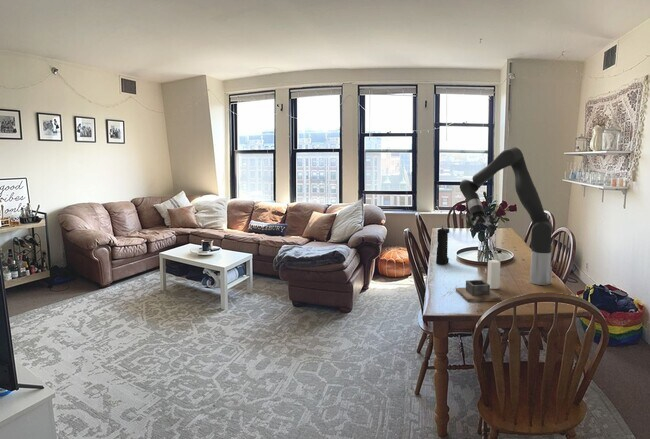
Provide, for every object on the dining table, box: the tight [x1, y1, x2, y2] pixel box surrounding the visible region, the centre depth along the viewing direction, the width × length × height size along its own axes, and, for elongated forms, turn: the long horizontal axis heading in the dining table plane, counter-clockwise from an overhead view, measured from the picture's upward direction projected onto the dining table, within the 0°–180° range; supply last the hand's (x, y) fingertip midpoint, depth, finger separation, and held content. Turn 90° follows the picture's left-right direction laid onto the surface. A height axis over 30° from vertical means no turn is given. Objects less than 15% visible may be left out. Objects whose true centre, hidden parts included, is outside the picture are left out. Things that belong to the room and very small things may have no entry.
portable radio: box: [435, 225, 450, 266], centre depth 259 cm, size 8×6×25 cm
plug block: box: [486, 259, 501, 290], centre depth 211 cm, size 4×4×14 cm
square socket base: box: [455, 279, 502, 303], centre depth 201 cm, size 16×16×6 cm
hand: (483, 232), depth 222 cm, fingers open, 8 cm apart
